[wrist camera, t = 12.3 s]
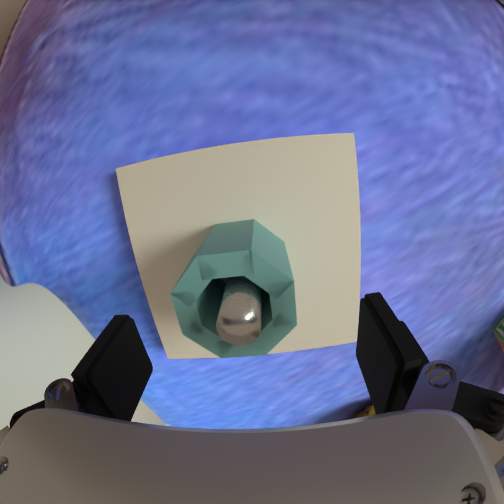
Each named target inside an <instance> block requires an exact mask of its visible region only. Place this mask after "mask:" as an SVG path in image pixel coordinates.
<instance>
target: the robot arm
mask: <svg viewBox="0 0 504 504" xmlns="http://www.w3.org/2000/svg"><path fill="white" fill-rule="evenodd" d="M499 1H500V2H501V3H502V4H503V5H504V0H499ZM356 357H357V360H358V363H359V366H360V369H361V371H362V374H363V377H364V380H365V383H366V386H367V389H368V392H369V395H370V398H371V401H372V404H373V407H374V410H375V413H376V415H371V416H365V417H360V418H354V419H348V420H342V421H335V422H328V423H320V424H312V425H303V426H293V427H281V428H264V429H201V428H184V427H172V426H162V425H153V424H145V423H138V422H131V419H132V417H133V414H134V412H135V410H136V407H137V405H138V403H139V401H140V398H141V396H142V394H143V391H144V389H145V387H146V385H147V382H148V380H149V378H150V376H151V373H152V370H153V367H152V363H151V361H150V359H149V356H148V354H147V352H146V350H145V347H144V345H143V342H142V340H141V338H140V335H139V333H138V330H137V328H136V325H135V322H134V320H133V319H132V318H130V317H129V315H115V316H114V317H113V319H112V320H111V321H110V322H109V324H108V325H107V326H106V328H105V329H104V330H103V331H102V333H101V334H100V335H99V337H98V338H97V339H96V341H95V342H94V343H93V345H92V346H91V347H90V349H89V350H88V352H87V353H86V354H85V356H84V357H83V358H82V360H81V361H80V363H79V364H78V365H77V366H76V368H75V369H74V371H73V372H72V374H71V376H72V377H73V379H74V380H73V382H71V381H70V380H69V379H66V378H61V379H58V380H55V381H53V382H52V383H51V384H49V386H48V387H47V388H46V390H45V394H44V398H45V400H43V401H41V402H38V403H36V404H34V405H32V406H29V407H27V408H24V409H22V410H20V411H17V412H16V413H14V415H13V416H12V419H11V421H10V428H9V427H8V426H6V427H5V428H3V429H2V430H0V504H504V394H501V393H498V392H495V391H491V390H488V389H485V388H481V387H478V386H474V385H471V384H468V383H465V382H462V381H460V373H459V370H458V369H457V368H456V367H455V366H454V365H453V364H451V363H449V362H447V361H441V360H437V361H432V362H429V360H428V358H427V357H426V355H425V354H424V352H423V350H422V349H421V347H420V346H419V344H418V343H417V341H416V339H415V338H414V336H413V335H412V333H411V332H410V330H409V329H408V327H407V326H406V324H405V323H404V322H403V321H399V320H398V319H397V317H396V316H395V314H394V313H393V311H392V310H391V308H390V307H389V305H388V304H387V302H386V301H385V299H384V298H383V296H382V295H381V293H380V292H377V293H370V294H366V295H365V297H364V298H361V300H360V312H359V325H358V337H357V347H356Z"/></svg>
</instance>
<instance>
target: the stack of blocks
mask: <svg viewBox="0 0 504 504" xmlns="http://www.w3.org/2000/svg"><path fill="white" fill-rule="evenodd" d="M493 332H494V333H495V335H496V337H497V340H498V342H499V344H500V346H501V347H502V350H503V351H504V316H503V317H502V318H501V320H500V321H499V322H498V323H497V325H496V326H495V327H494V328H493Z"/></svg>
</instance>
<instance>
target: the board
mask: <svg viewBox="0 0 504 504" xmlns="http://www.w3.org/2000/svg"><path fill="white" fill-rule="evenodd" d="M116 173H117V179H118V184H119V190H120V195H121V200H122V205H123V210H124V214H125V219H126V223H127V227H128V232H129V236H130V240H131V244H132V248H133V252H134V256H135V259H136V263H137V267H138V270H139V274H140V277H141V281H142V284H143V287H144V291H145V294H146V297H147V300H148V303H149V306H150V310H151V313H152V316H153V318H154V321H155V324H156V327H157V330H158V333H159V336H160V338H161V341H162V344H163V347H164V349H165V352H166V354H167V357H168V359H186V358H217V357H218V356H217V355H215V354H213V353H212V352H210V351H208V350H207V349H205V348H203V347H202V346H200V345H199V344H197V343H195V342H194V341H192V340H191V339H189V338H187V337H186V336H184V335H183V334H182V331H181V328H180V325H179V321H178V318H177V315H176V312H175V308H174V305H173V301H172V298H171V294H170V293H171V291H172V290H173V288H174V286H175V285H176V283H177V281H178V280H179V278H180V277H181V275H182V273H183V272H184V270H185V268H186V267H187V265H188V264H189V262H190V260H191V259H192V257H193V255H194V254H195V252H196V251H197V250H198V248H199V247H200V245H201V244H202V243H203V241H204V240H205V239H206V237H207V236H208V234H209V233H210V232H211V230H212V229H213V228H214V226H215V225H216V224H219V223H227V222H234V221H242V220H250V219H255V220H256V221H257V222H259V223H260V224H261V225H263V226H264V227H265V228H267V229H268V230H269V231H271V232H272V233H273V234H275V235H276V236H277V237H279V238H280V239H281V240H283V241H284V243H285V247H286V251H287V255H288V259H289V263H290V267H291V271H292V275H293V279H294V288H295V301H296V314H297V326H296V327H295V328H294V329H293V330H292V331H291V332H290V333H288V334H287V335H286V336H285V337H284V338H283V339H282V340H281V341H280V342H279V343H278V344H277V345H276V346H275V347H274V348H273V349H272V350H271V351H270V352H269V353H267V354H272V353H281V352H290V351H299V350H306V349H314V348H321V347H328V346H334V345H340V344H346V343H352V342H357V332H358V319H359V301H360V273H361V229H360V201H359V184H358V170H357V159H356V149H355V139H354V133H340V134H320V135H305V136H293V137H282V138H273V139H264V140H256V141H248V142H241V143H234V144H227V145H221V146H215V147H209V148H203V149H198V150H193V151H187V152H182V153H177V154H173V155H168V156H164V157H159V158H155V159H150V160H146V161H142V162H138V163H134V164H130V165H127V166H123V167H119V168H116ZM220 279H221V280H223V281H224V282H226V286H225V290H224V294H223V298H222V302H221V306H220V310H219V314H218V318H217V322H216V330H217V332H218V334H219V336H220V337H221V338H222V339H223V340H224V341H226V342H228V343H230V344H233V345H246V344H249V343H252V342H253V341H255V340H256V339H257V338H258V336H259V335H260V332H261V287H259V286H258V285H257V284H255V283H254V282H252V281H251V280H249V279H248V278H247V277H245V276H236V277H227V278H220Z"/></svg>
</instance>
